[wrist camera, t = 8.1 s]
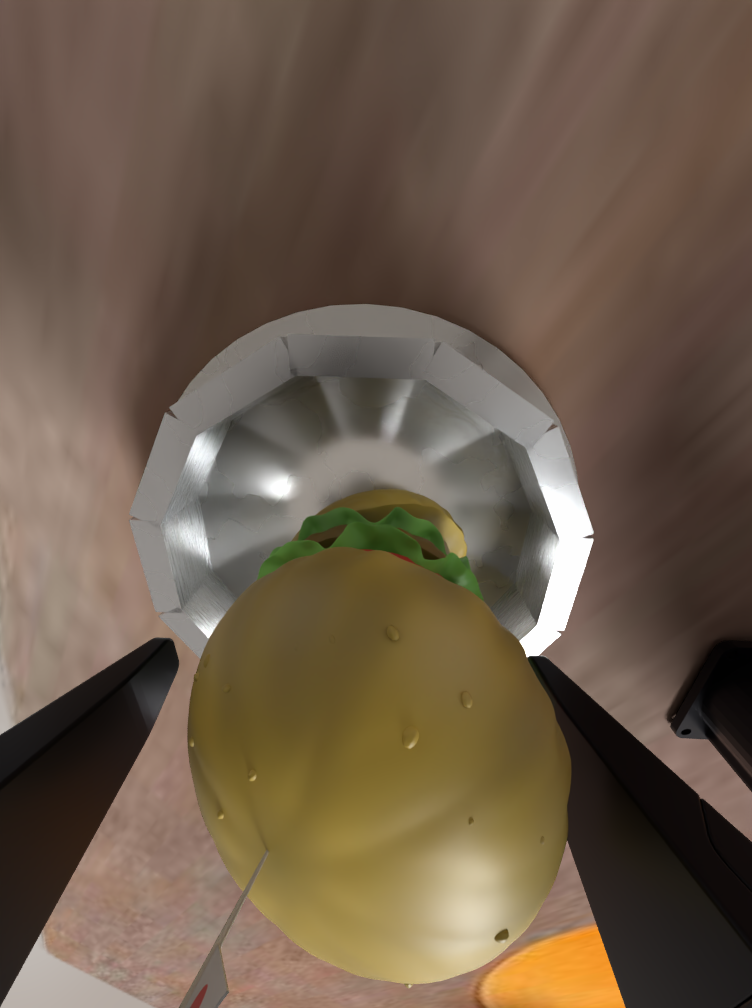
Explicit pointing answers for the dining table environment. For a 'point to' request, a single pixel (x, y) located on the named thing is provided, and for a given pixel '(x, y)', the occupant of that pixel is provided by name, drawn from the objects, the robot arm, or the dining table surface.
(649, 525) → the dining table surface
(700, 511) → the dining table surface
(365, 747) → the hamburger
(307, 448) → the collar
